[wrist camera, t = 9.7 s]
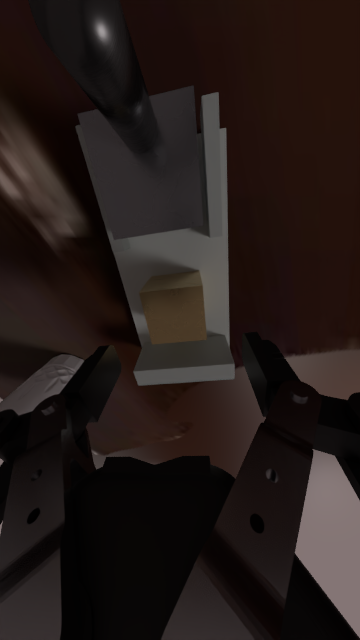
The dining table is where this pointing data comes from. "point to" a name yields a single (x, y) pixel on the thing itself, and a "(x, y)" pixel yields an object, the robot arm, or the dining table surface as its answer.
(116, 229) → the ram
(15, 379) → the dining table surface
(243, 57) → the dining table surface
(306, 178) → the dining table surface
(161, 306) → the tan cube
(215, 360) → the press
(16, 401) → the white cup
